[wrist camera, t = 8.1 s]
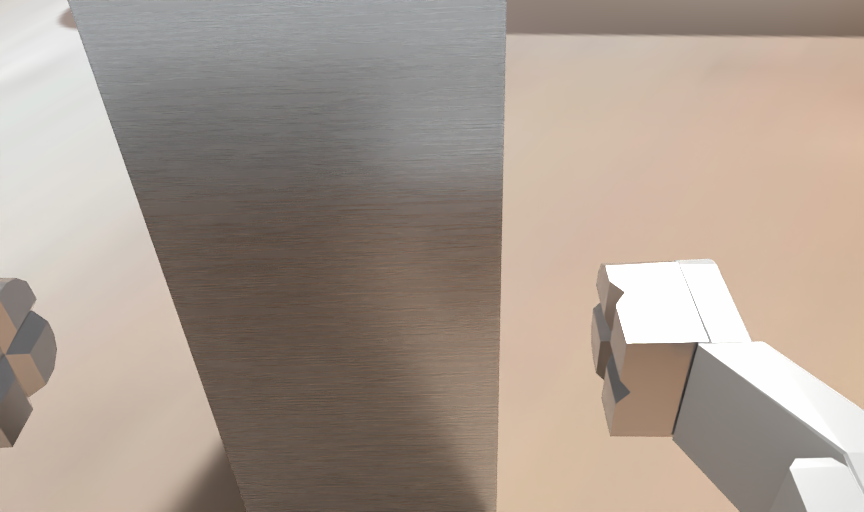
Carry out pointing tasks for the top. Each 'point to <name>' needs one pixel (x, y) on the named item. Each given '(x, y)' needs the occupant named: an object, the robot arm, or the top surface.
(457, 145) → the tea tin
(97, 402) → the top surface
